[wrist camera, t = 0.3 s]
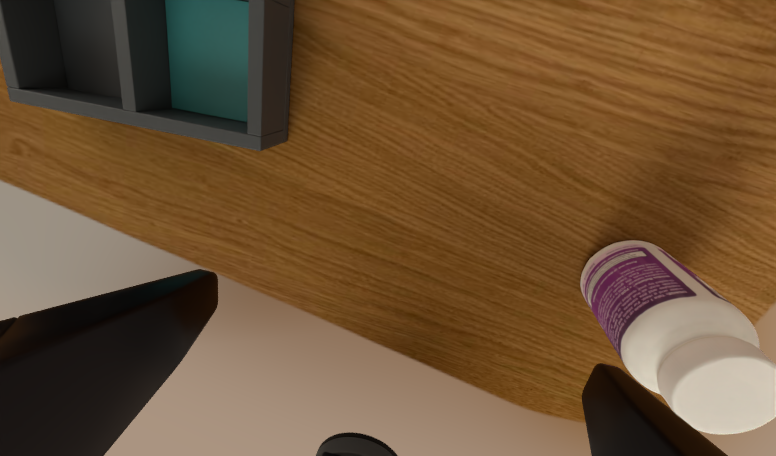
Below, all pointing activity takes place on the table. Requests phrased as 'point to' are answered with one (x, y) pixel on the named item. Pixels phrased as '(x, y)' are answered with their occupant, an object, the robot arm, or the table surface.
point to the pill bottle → (681, 338)
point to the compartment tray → (156, 64)
